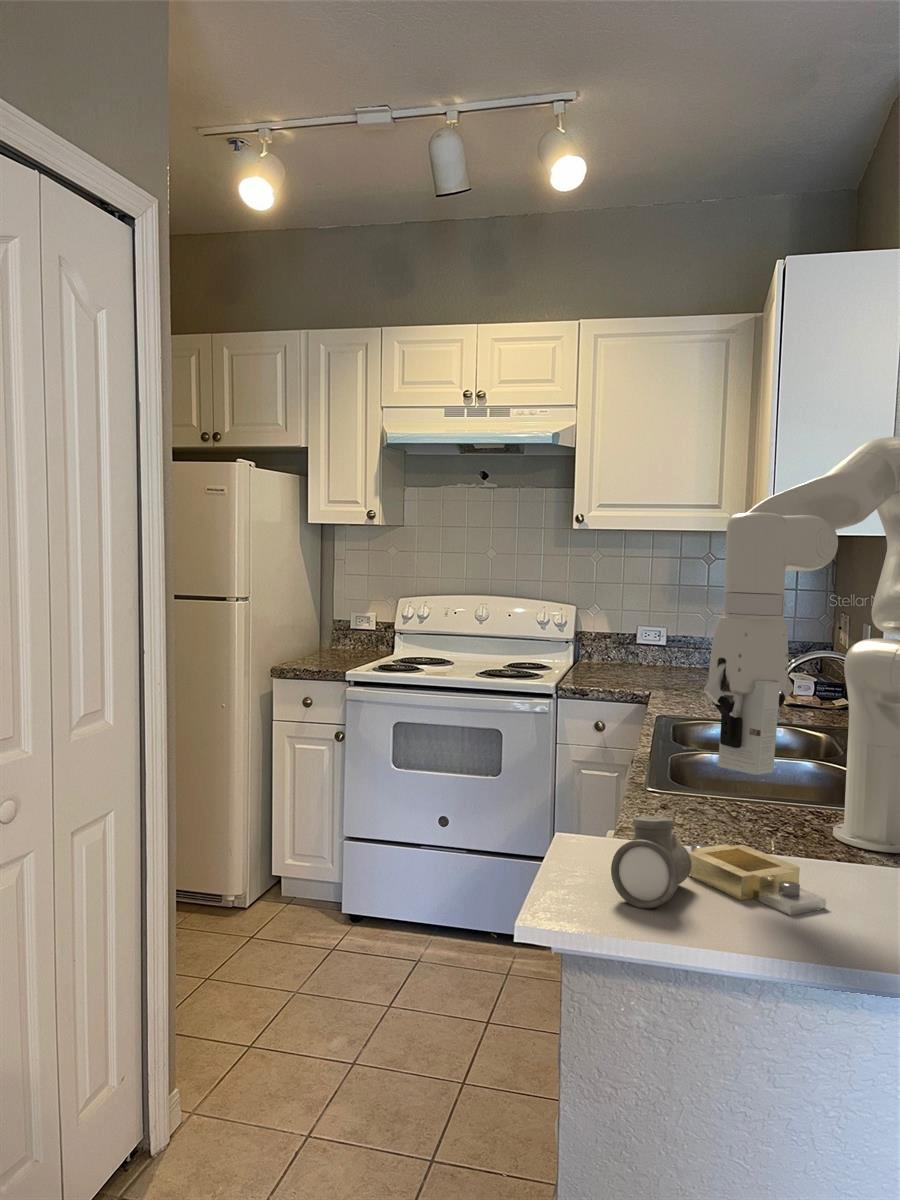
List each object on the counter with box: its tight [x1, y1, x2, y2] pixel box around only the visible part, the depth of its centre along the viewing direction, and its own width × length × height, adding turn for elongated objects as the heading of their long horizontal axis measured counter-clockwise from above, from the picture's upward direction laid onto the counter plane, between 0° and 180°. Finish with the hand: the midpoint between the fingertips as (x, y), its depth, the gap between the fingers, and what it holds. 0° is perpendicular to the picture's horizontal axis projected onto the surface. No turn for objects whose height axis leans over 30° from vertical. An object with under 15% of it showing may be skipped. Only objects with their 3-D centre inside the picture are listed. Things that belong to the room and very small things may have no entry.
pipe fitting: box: [610, 815, 692, 909], centre depth 111 cm, size 12×8×10 cm
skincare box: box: [717, 681, 780, 776], centre depth 116 cm, size 6×4×12 cm
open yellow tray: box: [685, 843, 827, 916], centre depth 117 cm, size 10×22×3 cm, turn 26°
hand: (747, 743), depth 116 cm, fingers closed on skincare box, 5 cm apart
